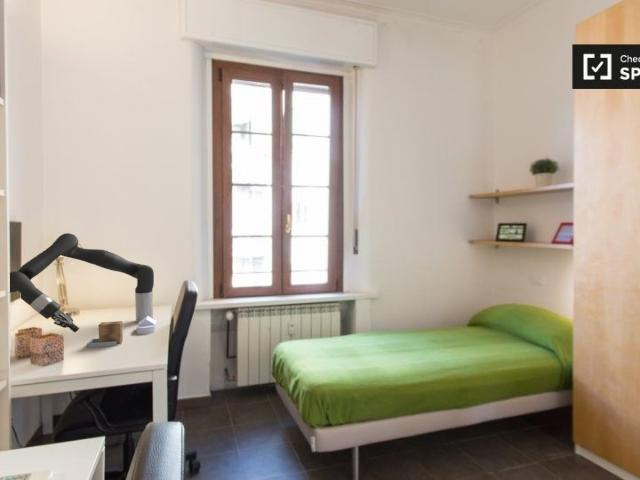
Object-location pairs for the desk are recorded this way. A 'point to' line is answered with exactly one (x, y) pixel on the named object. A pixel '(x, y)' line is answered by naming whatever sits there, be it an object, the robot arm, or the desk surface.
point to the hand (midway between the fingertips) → (77, 330)
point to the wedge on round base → (146, 326)
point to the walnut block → (111, 332)
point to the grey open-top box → (100, 343)
